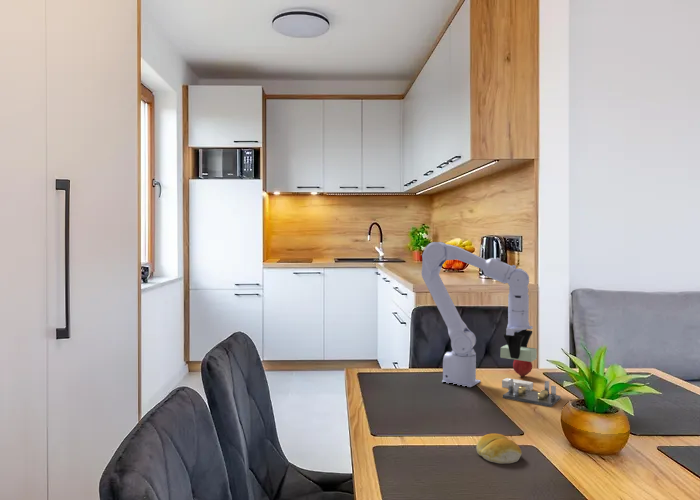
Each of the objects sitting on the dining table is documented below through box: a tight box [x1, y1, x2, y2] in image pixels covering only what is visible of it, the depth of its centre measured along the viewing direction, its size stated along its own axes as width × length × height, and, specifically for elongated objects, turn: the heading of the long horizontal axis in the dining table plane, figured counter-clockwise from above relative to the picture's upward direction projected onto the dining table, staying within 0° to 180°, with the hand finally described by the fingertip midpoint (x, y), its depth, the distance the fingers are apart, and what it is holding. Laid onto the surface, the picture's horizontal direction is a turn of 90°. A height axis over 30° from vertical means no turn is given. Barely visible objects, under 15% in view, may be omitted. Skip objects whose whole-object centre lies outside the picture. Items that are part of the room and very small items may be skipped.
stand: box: [501, 377, 534, 391], centre depth 153 cm, size 8×3×2 cm, turn 53°
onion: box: [512, 359, 533, 378], centre depth 166 cm, size 6×6×8 cm
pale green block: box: [499, 344, 538, 363], centre depth 153 cm, size 9×5×3 cm, turn 53°
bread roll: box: [475, 432, 523, 465], centre depth 106 cm, size 8×9×4 cm
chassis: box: [502, 378, 562, 408], centre depth 143 cm, size 13×9×4 cm
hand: (517, 356), depth 153 cm, fingers closed on pale green block, 5 cm apart
